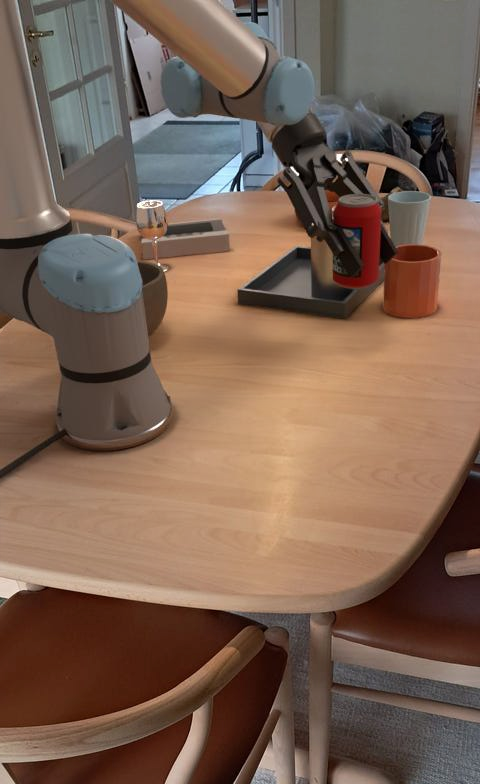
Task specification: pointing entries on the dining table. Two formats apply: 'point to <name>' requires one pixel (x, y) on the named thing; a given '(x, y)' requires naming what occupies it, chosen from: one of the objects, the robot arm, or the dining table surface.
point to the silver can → (324, 273)
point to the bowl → (153, 294)
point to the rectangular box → (189, 239)
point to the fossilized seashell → (385, 200)
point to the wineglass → (152, 223)
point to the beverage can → (359, 238)
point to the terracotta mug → (412, 281)
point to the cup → (408, 217)
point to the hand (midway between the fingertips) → (374, 264)
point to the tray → (298, 288)
